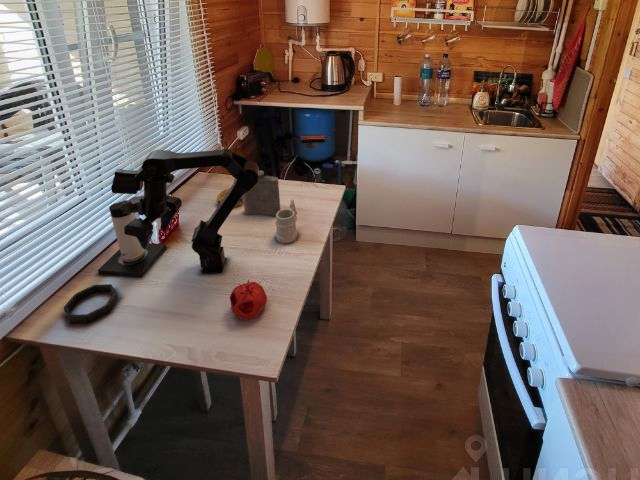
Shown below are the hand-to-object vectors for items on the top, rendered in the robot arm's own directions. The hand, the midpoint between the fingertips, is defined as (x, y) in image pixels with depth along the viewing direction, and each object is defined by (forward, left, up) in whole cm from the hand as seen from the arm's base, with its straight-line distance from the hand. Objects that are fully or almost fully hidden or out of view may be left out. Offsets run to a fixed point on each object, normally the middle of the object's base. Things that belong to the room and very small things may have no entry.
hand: (154, 239), depth 114 cm
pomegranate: (-30, +15, -13) cm, 36 cm away
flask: (-25, -33, -13) cm, 43 cm away
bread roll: (-10, -41, -13) cm, 44 cm away
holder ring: (+14, +12, -13) cm, 23 cm away
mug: (-37, -19, -13) cm, 44 cm away
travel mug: (+12, -7, -12) cm, 18 cm away
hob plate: (+12, -7, -13) cm, 19 cm away
